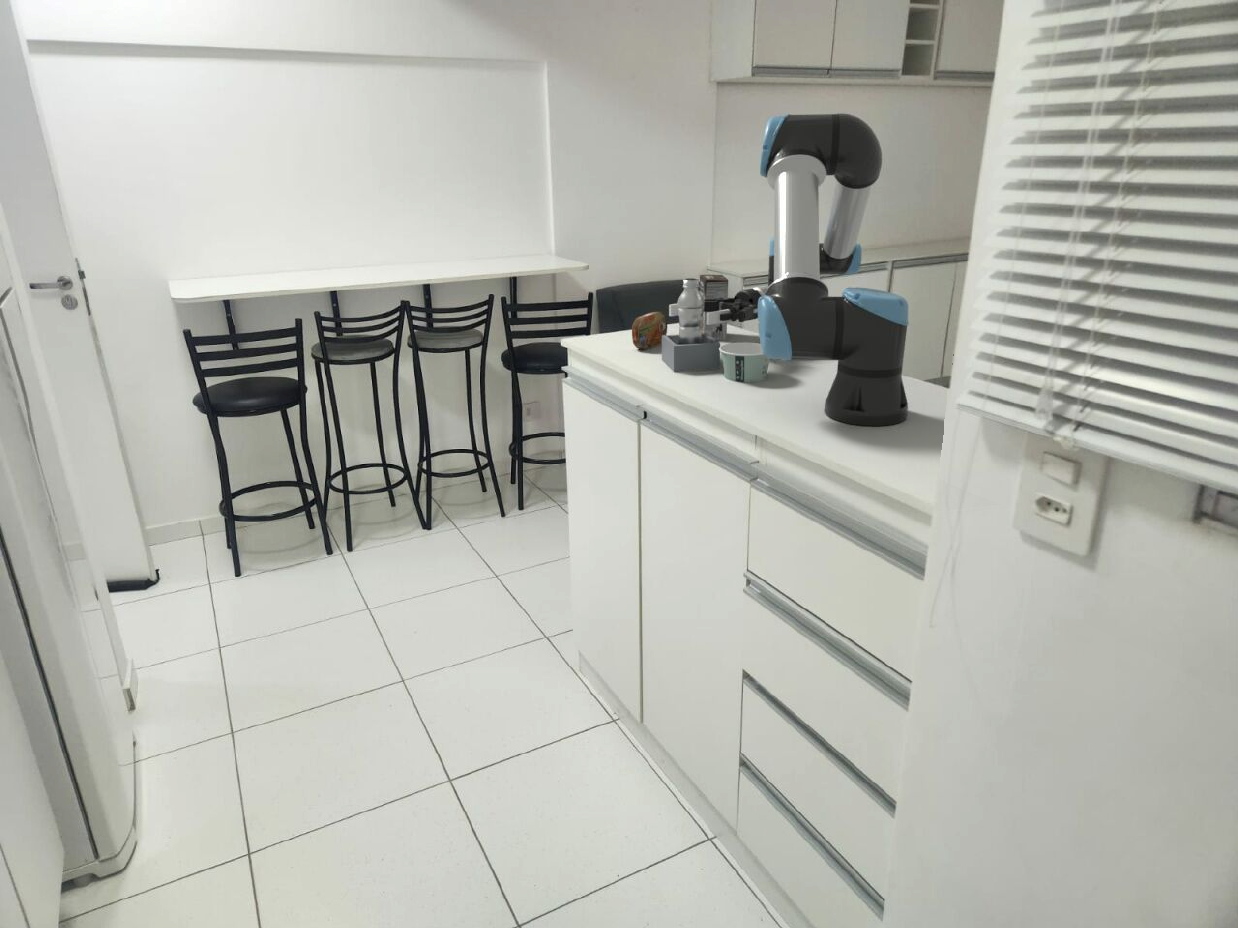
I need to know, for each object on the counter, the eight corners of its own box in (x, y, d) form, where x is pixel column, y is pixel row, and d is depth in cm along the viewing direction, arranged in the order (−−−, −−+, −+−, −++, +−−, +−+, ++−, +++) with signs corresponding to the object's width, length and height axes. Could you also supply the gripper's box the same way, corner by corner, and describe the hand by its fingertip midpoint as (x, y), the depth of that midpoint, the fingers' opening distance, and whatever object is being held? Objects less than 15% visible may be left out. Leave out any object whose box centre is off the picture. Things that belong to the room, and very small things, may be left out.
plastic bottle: (670, 364, 192) (670, 279, 185) (690, 359, 196) (691, 276, 189) (690, 369, 187) (691, 282, 180) (709, 364, 192) (711, 279, 184)
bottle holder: (719, 368, 187) (720, 343, 185) (673, 371, 185) (674, 346, 183) (705, 356, 198) (705, 332, 196) (661, 359, 196) (661, 335, 194)
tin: (640, 352, 204) (640, 319, 201) (629, 351, 206) (629, 318, 203) (668, 340, 216) (668, 309, 213) (658, 339, 218) (658, 308, 215)
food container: (771, 384, 174) (773, 355, 171) (716, 383, 176) (716, 353, 174) (772, 370, 185) (774, 342, 182) (720, 369, 187) (721, 341, 185)
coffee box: (698, 333, 224) (699, 274, 218) (721, 332, 224) (722, 274, 218) (703, 340, 215) (704, 279, 210) (727, 339, 216) (728, 278, 210)
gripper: (790, 326, 190) (724, 339, 179) (719, 312, 209) (655, 322, 198) (792, 294, 188) (725, 305, 176) (720, 283, 207) (655, 292, 195)
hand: (688, 314), depth 187 cm, fingers open, 13 cm apart
